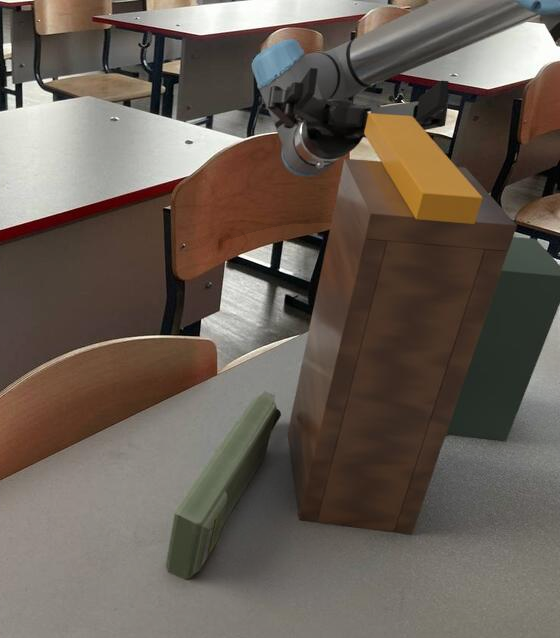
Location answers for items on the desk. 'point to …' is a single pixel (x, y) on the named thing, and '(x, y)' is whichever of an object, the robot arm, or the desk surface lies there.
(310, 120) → the robot arm
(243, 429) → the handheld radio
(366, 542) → the desk surface
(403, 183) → the orange rectangular bar
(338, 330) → the tall wooden panelled box
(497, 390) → the pedestal
